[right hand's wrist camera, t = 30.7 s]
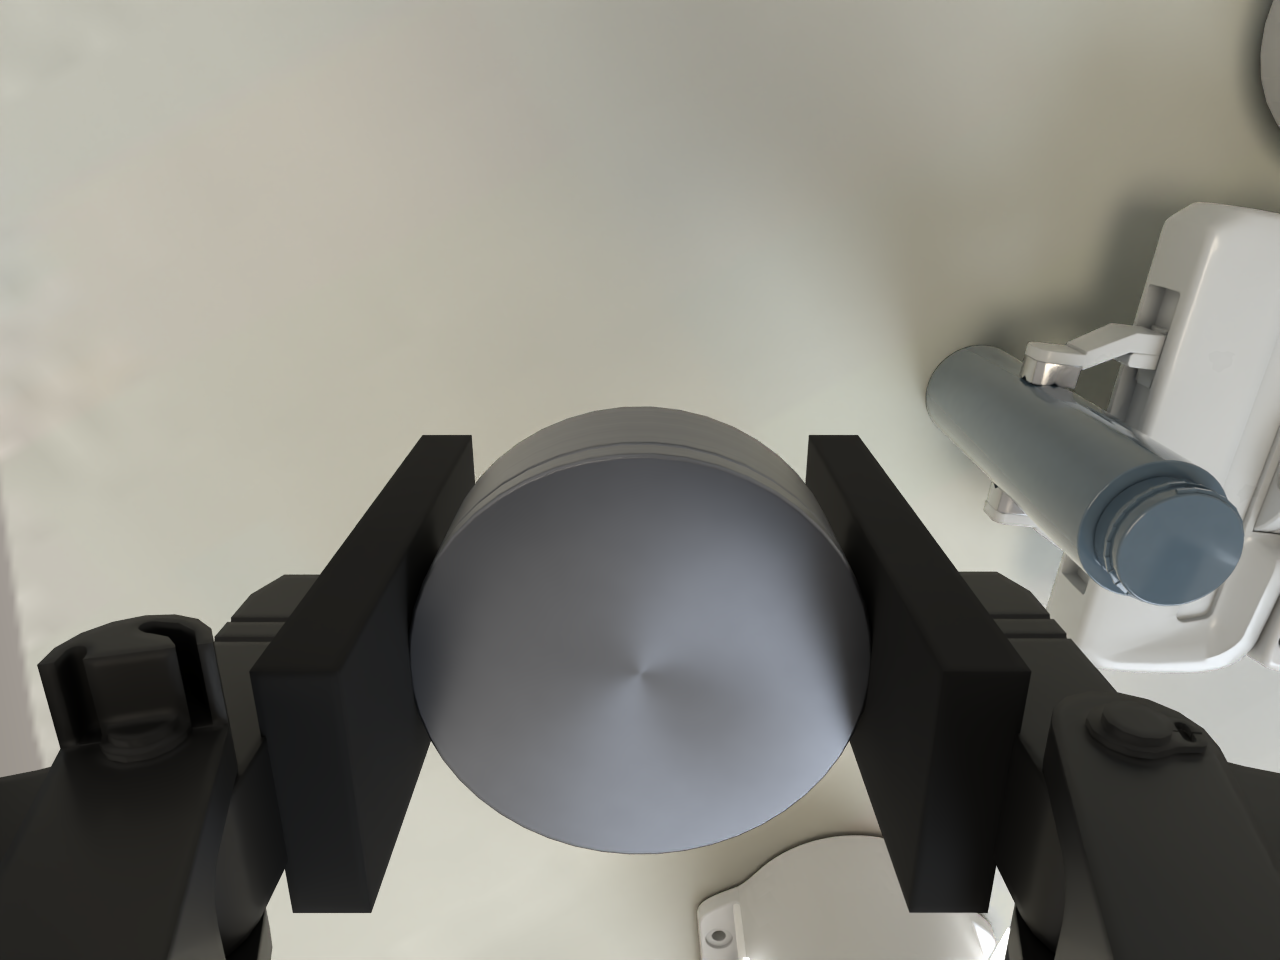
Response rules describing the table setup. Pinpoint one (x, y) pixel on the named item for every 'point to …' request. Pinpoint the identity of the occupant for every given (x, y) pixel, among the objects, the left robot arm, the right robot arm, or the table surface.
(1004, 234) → the table surface
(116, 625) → the right robot arm
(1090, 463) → the jar
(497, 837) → the table surface
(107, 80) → the table surface
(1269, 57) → the flag stand
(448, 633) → the lid
